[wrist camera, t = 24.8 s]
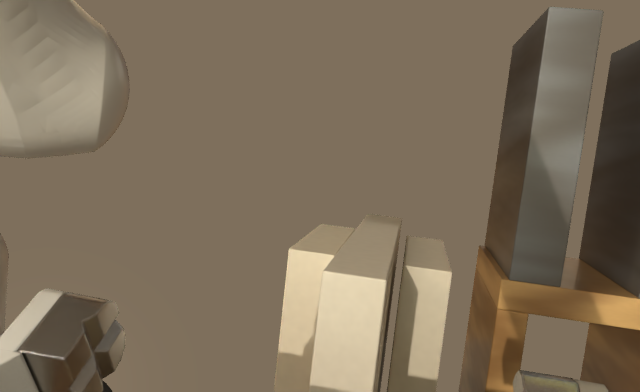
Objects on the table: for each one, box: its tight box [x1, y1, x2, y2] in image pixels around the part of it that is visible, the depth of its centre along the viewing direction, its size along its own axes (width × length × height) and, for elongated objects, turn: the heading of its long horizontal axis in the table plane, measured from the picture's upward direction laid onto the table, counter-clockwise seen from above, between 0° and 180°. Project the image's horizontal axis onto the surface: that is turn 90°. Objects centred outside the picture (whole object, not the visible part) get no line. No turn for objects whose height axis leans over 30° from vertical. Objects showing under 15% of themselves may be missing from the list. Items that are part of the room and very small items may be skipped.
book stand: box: [459, 7, 640, 392], centre depth 32 cm, size 9×10×39 cm
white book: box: [309, 214, 402, 392], centre depth 31 cm, size 2×19×13 cm, turn 170°
